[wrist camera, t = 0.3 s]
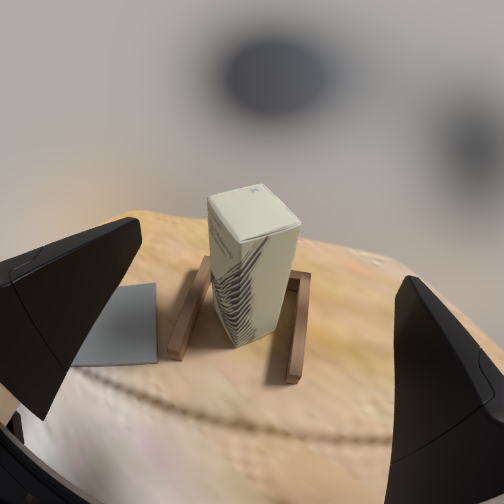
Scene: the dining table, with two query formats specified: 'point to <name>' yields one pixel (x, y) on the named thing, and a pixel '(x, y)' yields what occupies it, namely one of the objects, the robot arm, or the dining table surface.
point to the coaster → (123, 330)
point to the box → (250, 259)
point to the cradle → (196, 297)
